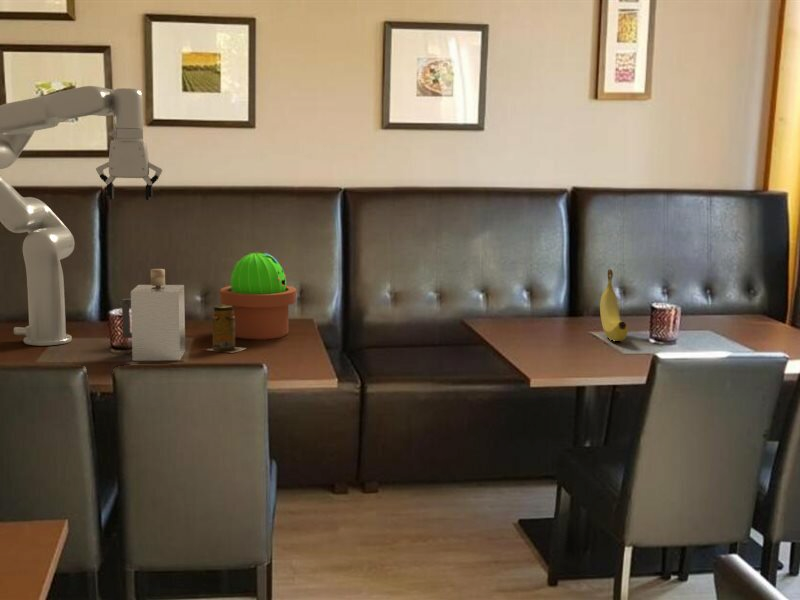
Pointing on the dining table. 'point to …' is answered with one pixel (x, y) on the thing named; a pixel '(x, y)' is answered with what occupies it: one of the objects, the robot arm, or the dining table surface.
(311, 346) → the dining table surface
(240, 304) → the potted cactus
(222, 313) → the condiment
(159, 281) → the plunger
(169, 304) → the press housing
